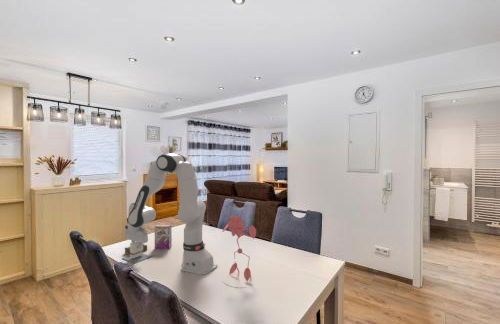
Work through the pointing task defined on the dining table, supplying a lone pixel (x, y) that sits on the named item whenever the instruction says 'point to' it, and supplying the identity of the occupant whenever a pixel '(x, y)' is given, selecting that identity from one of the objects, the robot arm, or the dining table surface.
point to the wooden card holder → (127, 250)
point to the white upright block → (135, 250)
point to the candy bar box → (163, 236)
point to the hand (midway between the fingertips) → (136, 247)
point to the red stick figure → (237, 229)
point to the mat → (137, 259)
